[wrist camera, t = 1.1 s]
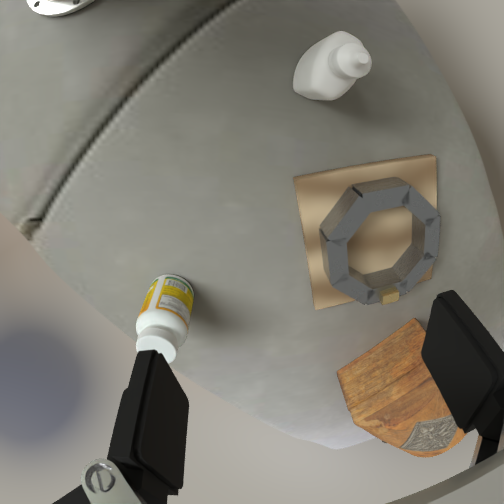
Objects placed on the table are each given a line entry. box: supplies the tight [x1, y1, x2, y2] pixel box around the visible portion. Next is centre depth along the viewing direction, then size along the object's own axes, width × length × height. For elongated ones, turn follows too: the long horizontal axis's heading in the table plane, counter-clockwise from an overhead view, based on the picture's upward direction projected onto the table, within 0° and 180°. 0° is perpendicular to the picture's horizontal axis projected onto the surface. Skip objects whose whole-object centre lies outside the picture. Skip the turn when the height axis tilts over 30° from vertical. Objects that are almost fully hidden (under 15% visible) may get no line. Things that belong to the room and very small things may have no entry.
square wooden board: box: [293, 154, 437, 310], centre depth 32 cm, size 16×16×1 cm
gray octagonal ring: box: [319, 177, 440, 305], centre depth 30 cm, size 13×13×4 cm
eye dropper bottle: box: [293, 31, 372, 100], centre depth 19 cm, size 4×6×12 cm
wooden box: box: [337, 318, 467, 457], centre depth 42 cm, size 30×16×14 cm, turn 42°
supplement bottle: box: [136, 274, 194, 363], centre depth 31 cm, size 5×5×10 cm
